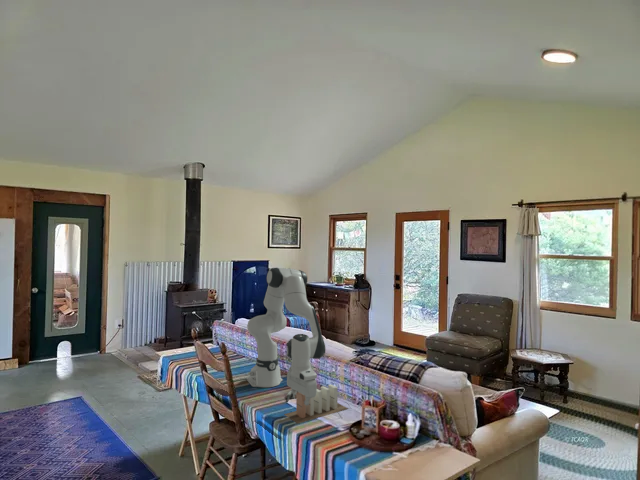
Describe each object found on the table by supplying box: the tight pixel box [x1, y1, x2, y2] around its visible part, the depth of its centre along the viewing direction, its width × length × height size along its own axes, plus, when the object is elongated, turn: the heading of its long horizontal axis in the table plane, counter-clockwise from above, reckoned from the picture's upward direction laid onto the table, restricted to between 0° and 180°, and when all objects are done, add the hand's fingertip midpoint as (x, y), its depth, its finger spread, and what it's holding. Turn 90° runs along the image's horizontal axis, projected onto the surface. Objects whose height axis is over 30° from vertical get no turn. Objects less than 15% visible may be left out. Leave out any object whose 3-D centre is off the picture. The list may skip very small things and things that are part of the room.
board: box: [283, 402, 349, 425], centre depth 198 cm, size 12×28×1 cm, turn 125°
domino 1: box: [295, 392, 306, 418], centre depth 193 cm, size 2×5×10 cm, turn 35°
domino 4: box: [320, 386, 330, 411], centre depth 201 cm, size 2×5×10 cm, turn 35°
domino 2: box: [306, 397, 314, 416], centre depth 196 cm, size 2×5×10 cm, turn 34°
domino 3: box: [314, 388, 322, 413], centre depth 198 cm, size 2×5×10 cm, turn 35°
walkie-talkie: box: [285, 390, 298, 403], centre depth 219 cm, size 9×4×20 cm
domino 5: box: [327, 384, 338, 409], centre depth 204 cm, size 2×5×10 cm, turn 34°
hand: (300, 401), depth 193 cm, fingers open, 8 cm apart
